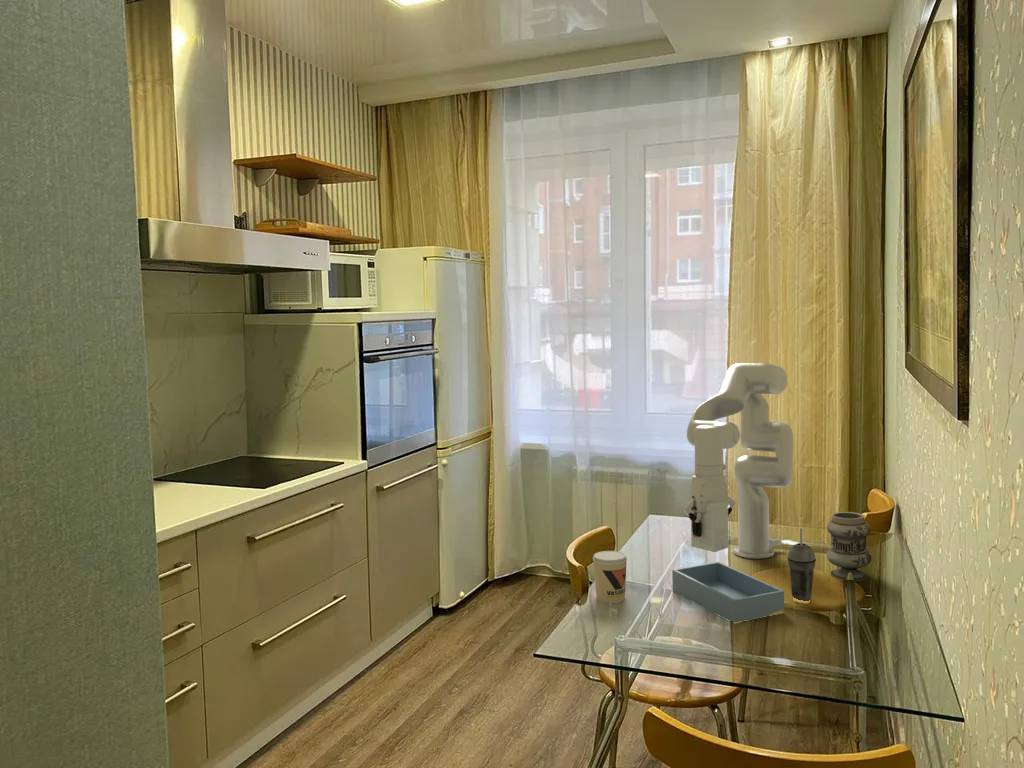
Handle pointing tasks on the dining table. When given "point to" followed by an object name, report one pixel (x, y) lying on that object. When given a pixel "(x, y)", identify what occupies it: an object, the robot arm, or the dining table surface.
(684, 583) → the tray
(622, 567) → the cream lidded tub
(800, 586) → the beverage cup
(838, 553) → the apothecary jar
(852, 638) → the dining table surface
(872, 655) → the dining table surface
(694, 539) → the small box
